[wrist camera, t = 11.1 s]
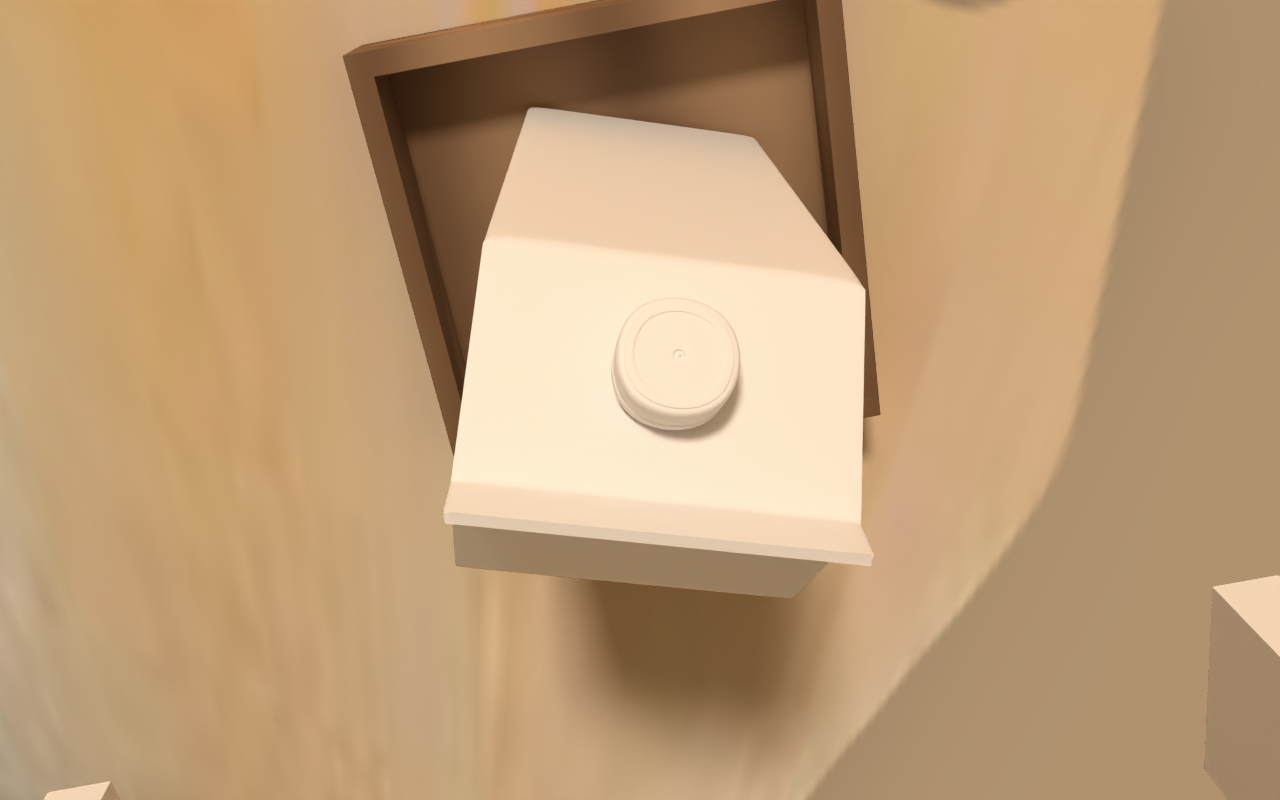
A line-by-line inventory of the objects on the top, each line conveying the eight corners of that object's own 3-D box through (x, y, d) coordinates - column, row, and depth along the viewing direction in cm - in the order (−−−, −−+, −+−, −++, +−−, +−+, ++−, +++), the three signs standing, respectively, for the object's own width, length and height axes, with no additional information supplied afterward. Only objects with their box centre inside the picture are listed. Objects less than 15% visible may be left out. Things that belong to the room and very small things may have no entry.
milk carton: (717, 346, 37) (829, 729, 19) (507, 321, 36) (428, 695, 19) (755, 135, 34) (926, 363, 17) (528, 104, 33) (459, 307, 16)
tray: (471, 450, 39) (462, 488, 36) (361, 45, 33) (342, 55, 30) (860, 381, 38) (880, 414, 36) (818, -42, 32) (837, -39, 30)
